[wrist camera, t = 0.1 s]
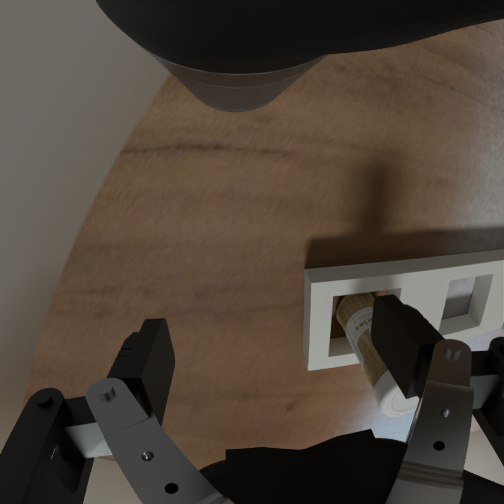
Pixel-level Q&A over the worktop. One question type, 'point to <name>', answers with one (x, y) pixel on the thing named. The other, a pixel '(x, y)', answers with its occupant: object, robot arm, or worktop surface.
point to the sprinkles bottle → (371, 354)
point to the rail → (403, 298)
